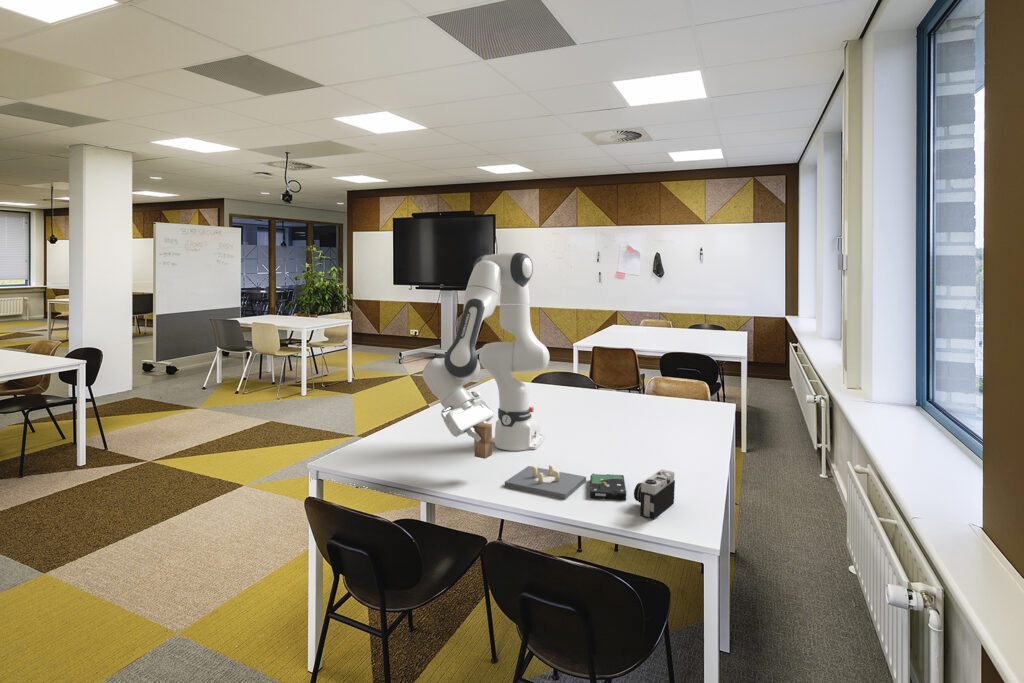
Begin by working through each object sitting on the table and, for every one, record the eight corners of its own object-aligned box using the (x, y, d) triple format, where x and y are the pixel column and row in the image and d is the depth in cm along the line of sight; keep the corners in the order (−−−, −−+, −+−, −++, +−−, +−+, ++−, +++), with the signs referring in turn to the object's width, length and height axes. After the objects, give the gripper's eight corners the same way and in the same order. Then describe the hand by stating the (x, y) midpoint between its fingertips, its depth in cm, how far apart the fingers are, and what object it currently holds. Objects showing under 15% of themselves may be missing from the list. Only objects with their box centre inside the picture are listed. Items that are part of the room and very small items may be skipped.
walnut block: (481, 452, 177) (481, 422, 176) (492, 454, 175) (491, 424, 174) (474, 456, 174) (474, 425, 172) (485, 458, 172) (485, 427, 171)
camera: (650, 496, 162) (653, 463, 160) (679, 506, 156) (682, 472, 154) (623, 510, 152) (625, 475, 151) (652, 522, 146) (654, 485, 144)
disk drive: (626, 502, 159) (623, 482, 173) (627, 493, 159) (623, 474, 173) (590, 500, 160) (589, 481, 175) (590, 491, 160) (589, 472, 174)
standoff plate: (528, 470, 183) (528, 457, 182) (586, 481, 173) (586, 467, 173) (504, 486, 169) (504, 472, 168) (565, 499, 159) (565, 484, 159)
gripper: (444, 404, 166) (472, 441, 163) (481, 390, 184) (507, 423, 181) (432, 417, 169) (460, 453, 166) (470, 402, 187) (495, 434, 184)
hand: (484, 437), depth 174 cm, fingers closed on walnut block, 4 cm apart
